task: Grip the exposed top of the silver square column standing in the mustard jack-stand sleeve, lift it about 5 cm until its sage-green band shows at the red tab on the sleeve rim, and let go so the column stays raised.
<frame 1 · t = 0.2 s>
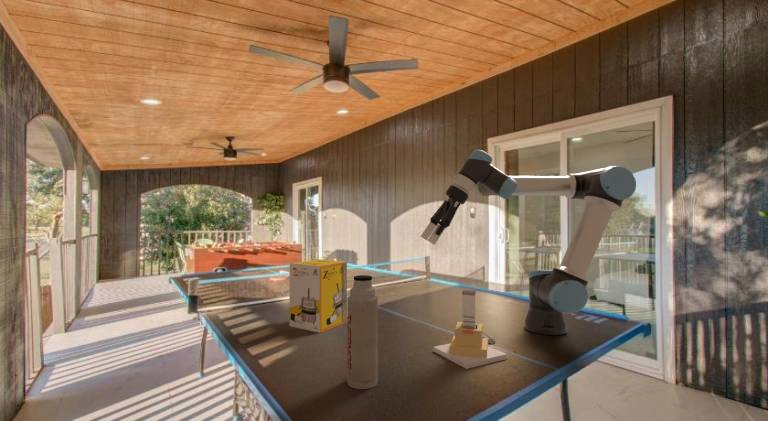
hand: (427, 240, 134), 35 cm above the table, tool tilted 35°, fingers open, 13 cm apart
packaging box: (318, 325, 154), on the table
thermos bottle: (362, 383, 100), on the table
column: (469, 319, 120), point 11 cm above the table, slide at 0.0 cm
adjustable wrench: (474, 334, 143), on the table
stand: (469, 355, 120), on the table
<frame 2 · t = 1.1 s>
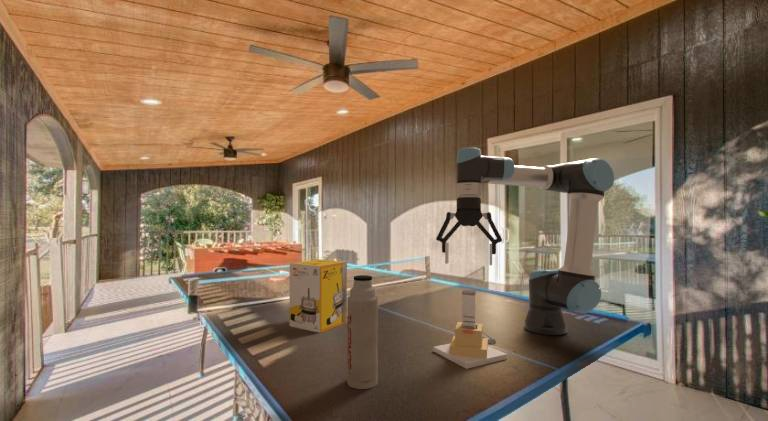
hand: (468, 264, 121), 29 cm above the table, tool pointing down, fingers open, 13 cm apart
nothing on the table moved.
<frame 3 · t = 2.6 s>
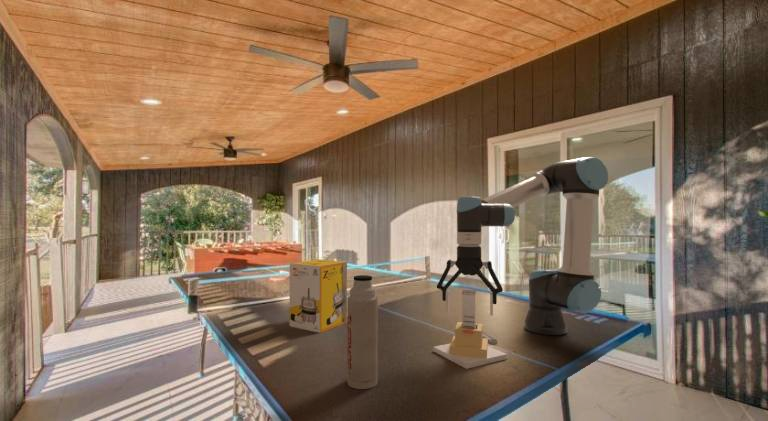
hand: (469, 312, 120), 13 cm above the table, tool pointing down, fingers open, 13 cm apart
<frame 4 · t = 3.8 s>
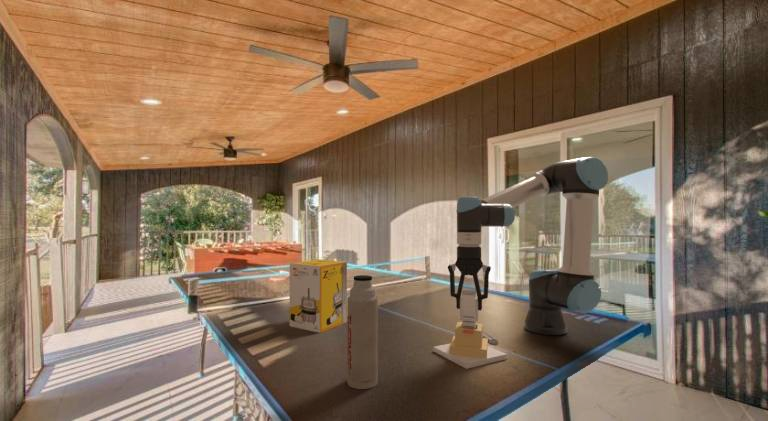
hand: (469, 319, 120), 11 cm above the table, tool pointing down, fingers closed on column, 4 cm apart
column: (469, 319, 120), point 11 cm above the table, slide at 0.0 cm, touching gripper
everything else where it was.
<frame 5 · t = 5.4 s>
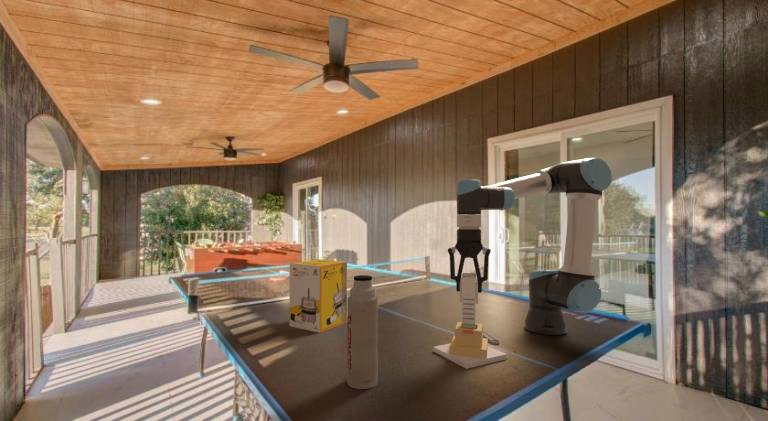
hand: (469, 302, 120), 17 cm above the table, tool pointing down, fingers closed on column, 4 cm apart
column: (469, 301, 120), point 17 cm above the table, slide at 5.5 cm, touching gripper
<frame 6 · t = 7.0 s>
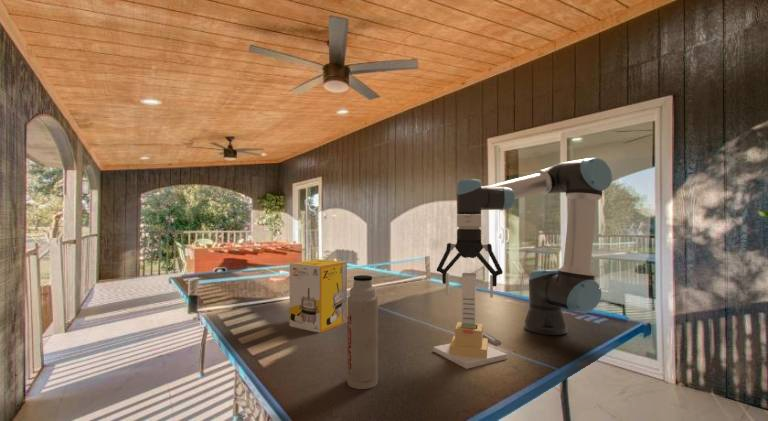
hand: (469, 295, 120), 19 cm above the table, tool pointing down, fingers open, 13 cm apart
column: (469, 301, 120), point 17 cm above the table, slide at 5.5 cm
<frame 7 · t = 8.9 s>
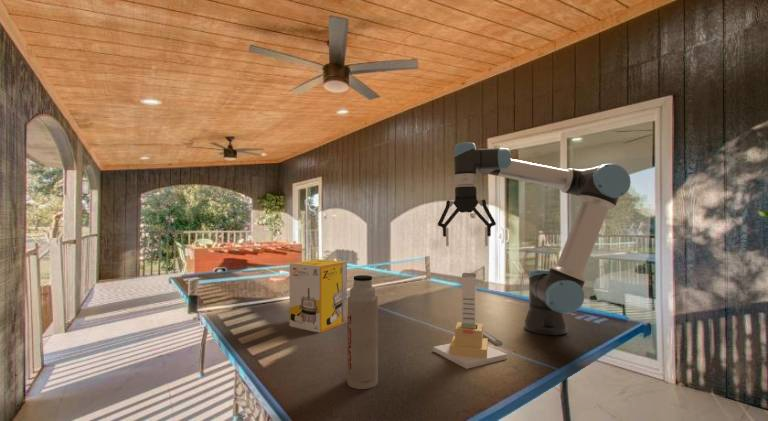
hand: (466, 246, 136), 33 cm above the table, tool pointing down, fingers open, 13 cm apart
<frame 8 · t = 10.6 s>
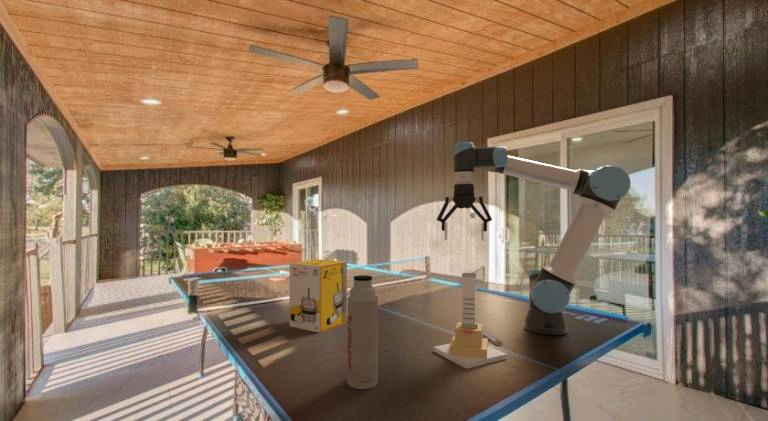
hand: (464, 240, 144), 35 cm above the table, tool pointing down, fingers open, 13 cm apart
at the end: column slide at 5.5 cm; the gripper is holding nothing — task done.
